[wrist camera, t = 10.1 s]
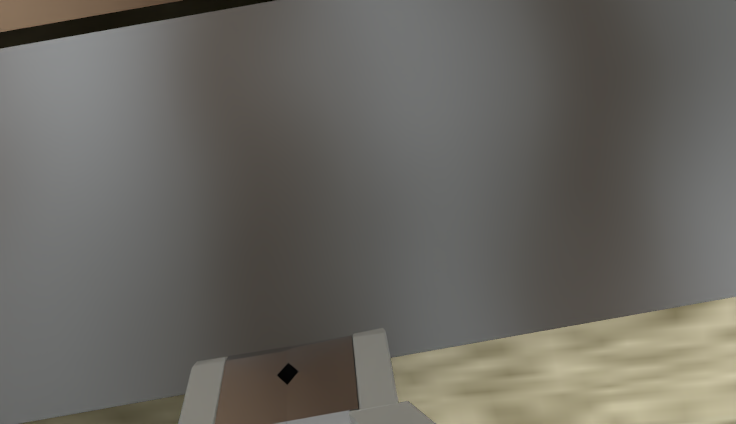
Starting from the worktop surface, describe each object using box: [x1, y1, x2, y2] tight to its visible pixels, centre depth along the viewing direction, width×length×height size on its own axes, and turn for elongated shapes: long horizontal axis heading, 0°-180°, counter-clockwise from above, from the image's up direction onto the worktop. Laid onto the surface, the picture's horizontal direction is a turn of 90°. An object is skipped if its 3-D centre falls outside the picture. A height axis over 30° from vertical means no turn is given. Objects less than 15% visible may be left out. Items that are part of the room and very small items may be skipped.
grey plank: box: [0, 0, 736, 424], centre depth 13 cm, size 20×7×2 cm, turn 99°
